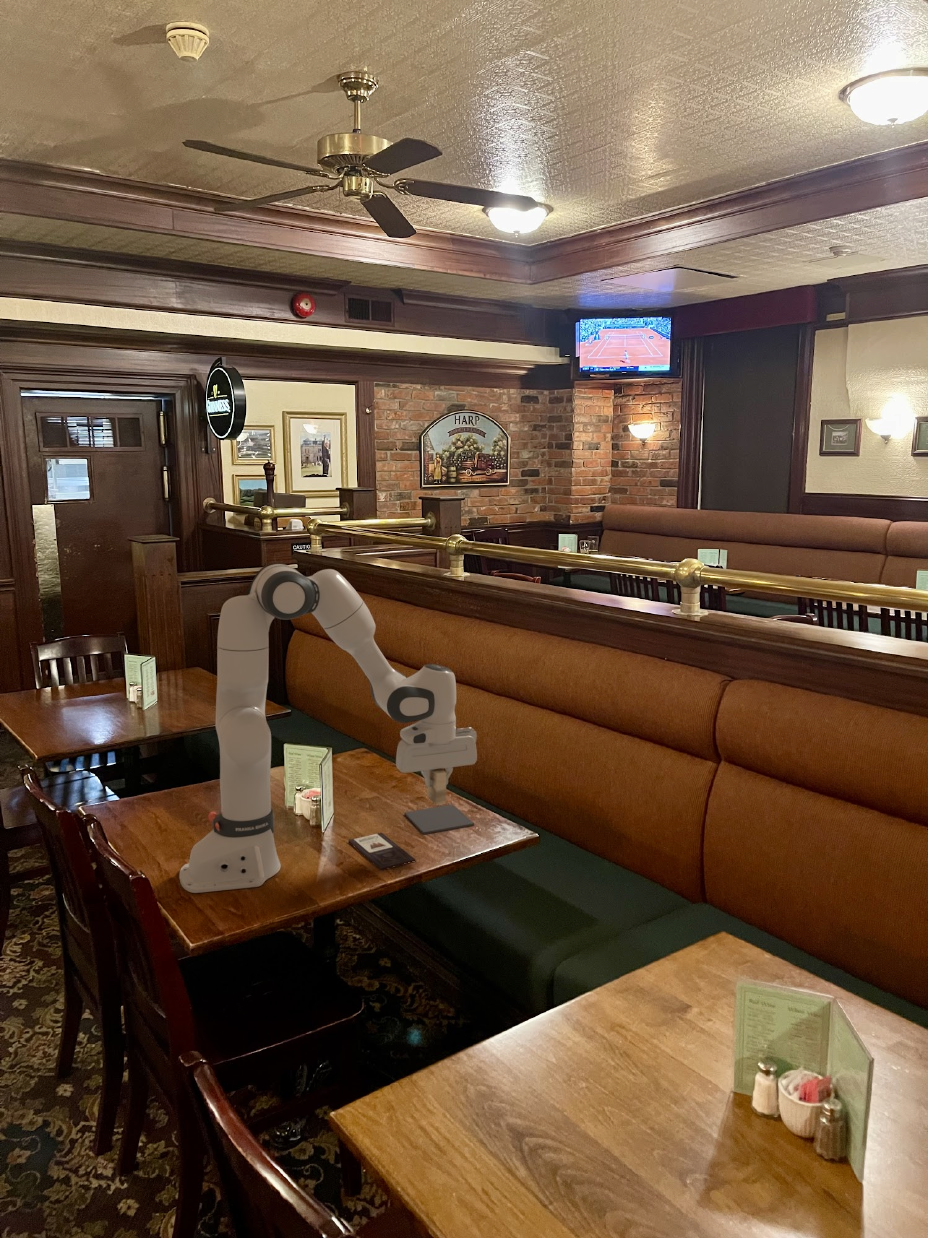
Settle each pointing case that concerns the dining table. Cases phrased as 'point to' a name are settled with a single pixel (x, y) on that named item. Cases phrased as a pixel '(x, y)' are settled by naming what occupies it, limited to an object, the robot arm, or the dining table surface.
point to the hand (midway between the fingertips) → (436, 785)
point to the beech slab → (437, 786)
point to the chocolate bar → (381, 851)
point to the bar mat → (438, 819)
